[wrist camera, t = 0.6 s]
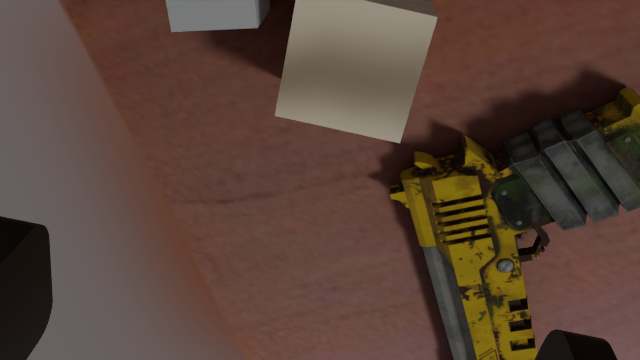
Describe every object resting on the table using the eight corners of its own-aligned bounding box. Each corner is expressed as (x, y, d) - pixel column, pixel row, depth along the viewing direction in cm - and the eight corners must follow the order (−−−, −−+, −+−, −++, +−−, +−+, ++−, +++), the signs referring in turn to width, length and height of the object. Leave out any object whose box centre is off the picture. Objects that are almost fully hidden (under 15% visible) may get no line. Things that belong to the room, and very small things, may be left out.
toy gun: (692, 97, 27) (377, 168, 31) (699, 405, 37) (456, 433, 40) (662, 73, 30) (379, 140, 34) (676, 363, 40) (452, 392, 43)
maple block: (309, -34, 29) (298, -15, 25) (427, -7, 29) (437, 17, 25) (288, 80, 32) (274, 115, 28) (396, 105, 32) (399, 143, 28)
